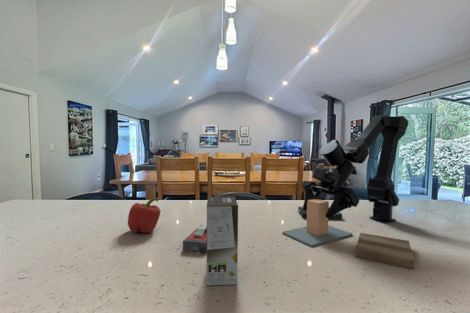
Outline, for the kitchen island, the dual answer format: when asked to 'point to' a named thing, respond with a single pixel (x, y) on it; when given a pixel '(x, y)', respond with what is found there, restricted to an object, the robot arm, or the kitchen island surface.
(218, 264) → the coffee box
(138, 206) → the vegetable
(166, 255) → the kitchen island surface
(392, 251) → the plate
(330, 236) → the slate grey mat
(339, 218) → the disk drive
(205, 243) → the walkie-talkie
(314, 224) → the terracotta block
